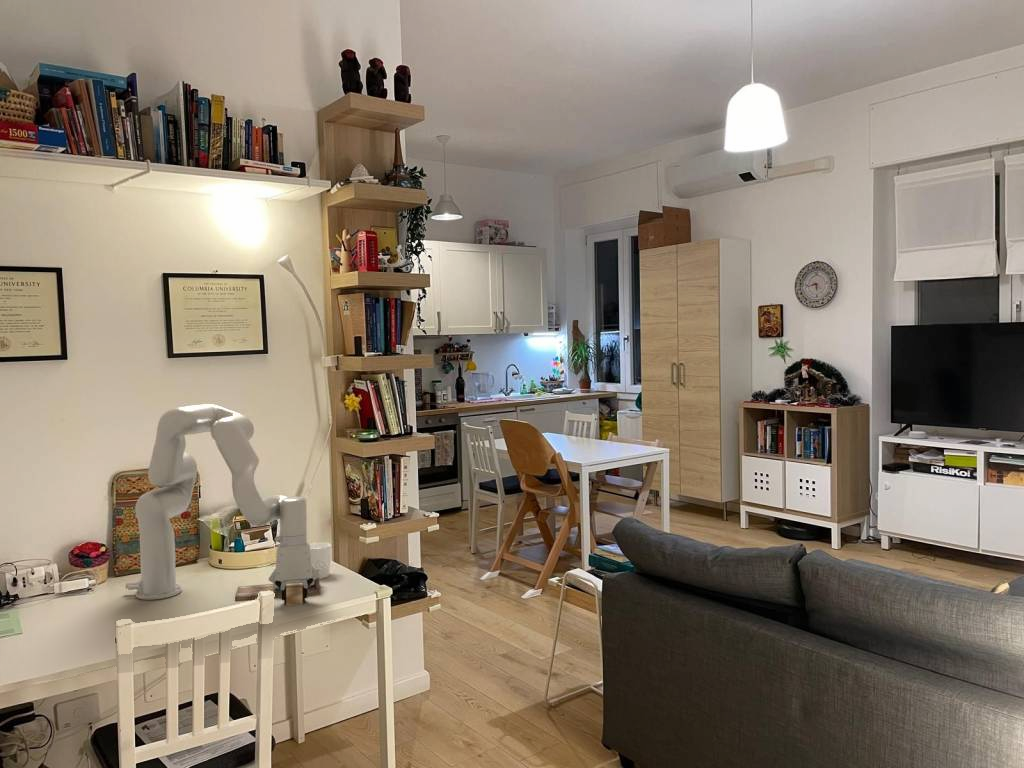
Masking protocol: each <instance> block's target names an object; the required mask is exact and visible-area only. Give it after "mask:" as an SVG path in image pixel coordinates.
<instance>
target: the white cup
mask: <svg viewBox="0 0 1024 768" xmlns="http://www.w3.org/2000/svg"><path fill="white" fill-rule="evenodd" d="M309 544H310V549H311V556H312V565H313V566H314V568H315V569H316V570H318V569H319V580H320V579H325V578H328V577H330V574H331V573H330V572H331V571H330V570H331V569H330V567H331V556H332V555H331V550H332V549H331V548H332V544H330V543H329V542H313V543H309Z"/></svg>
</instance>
